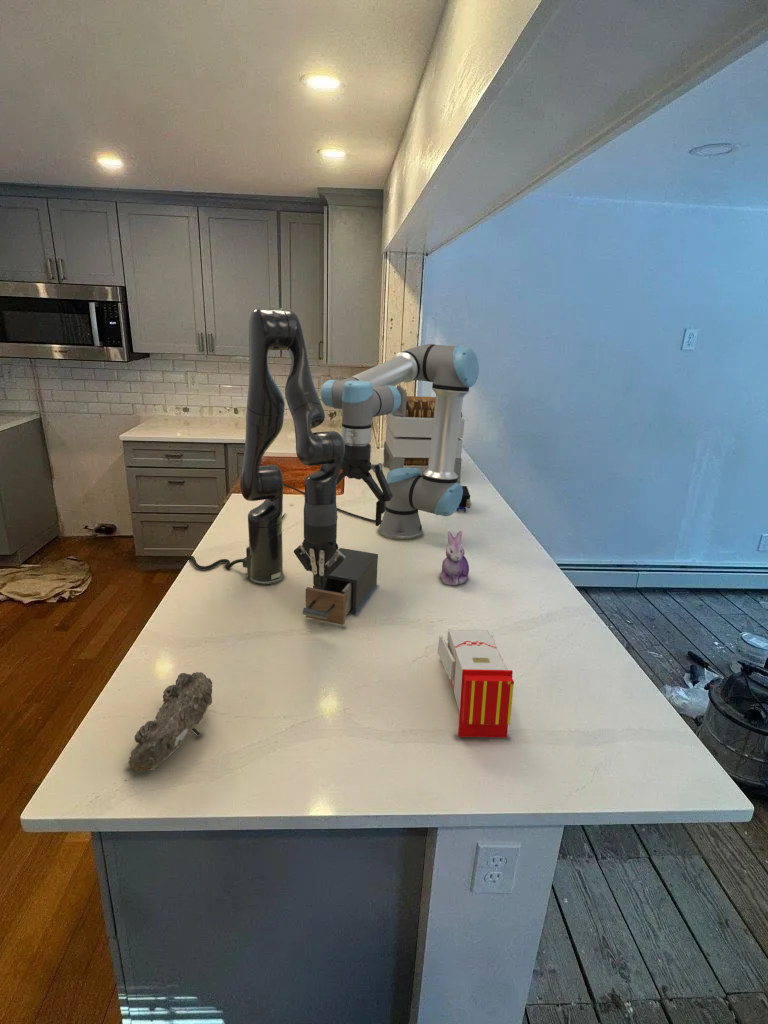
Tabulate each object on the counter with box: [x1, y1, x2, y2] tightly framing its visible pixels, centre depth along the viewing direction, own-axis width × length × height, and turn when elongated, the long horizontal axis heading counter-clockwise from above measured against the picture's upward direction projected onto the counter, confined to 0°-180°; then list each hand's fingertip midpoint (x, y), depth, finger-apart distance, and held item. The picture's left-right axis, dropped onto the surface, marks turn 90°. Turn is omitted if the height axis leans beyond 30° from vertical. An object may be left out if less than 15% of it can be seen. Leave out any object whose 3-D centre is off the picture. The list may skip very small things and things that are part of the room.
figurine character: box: [456, 485, 472, 513], centre depth 228 cm, size 7×8×15 cm
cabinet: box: [327, 547, 379, 616], centre depth 154 cm, size 18×11×10 cm, turn 163°
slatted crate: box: [382, 384, 465, 484], centre depth 268 cm, size 34×33×41 cm
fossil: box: [128, 671, 213, 773], centre depth 102 cm, size 22×10×15 cm
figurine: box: [440, 530, 470, 586], centre depth 165 cm, size 9×10×15 cm
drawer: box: [302, 578, 353, 626], centre depth 144 cm, size 22×10×8 cm, turn 163°
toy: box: [437, 628, 515, 738], centre depth 117 cm, size 12×13×30 cm
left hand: (320, 587), depth 134 cm, fingers closed
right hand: (354, 520), depth 152 cm, fingers open, 13 cm apart
